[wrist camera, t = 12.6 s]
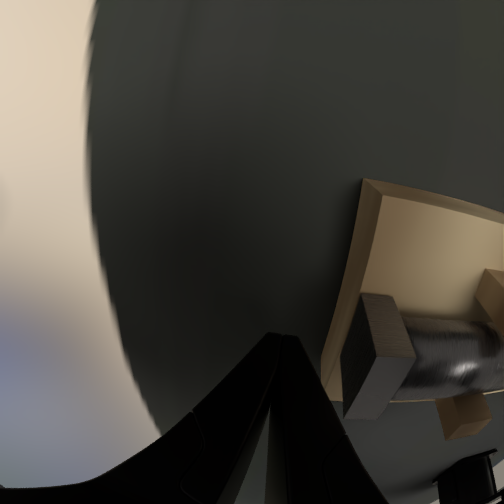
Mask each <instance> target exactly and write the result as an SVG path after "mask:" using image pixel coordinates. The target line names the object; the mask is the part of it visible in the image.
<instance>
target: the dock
mask: <svg viewBox="0 0 504 504" xmlns="http://www.w3.org/2000/svg"><path fill="white" fill-rule="evenodd" d="M361 293H365V294H373V295H382V296H391V297H393V298H394V301H395V303H396V306H397V308H398V310H399V313H400V315H401V317H414V318H428V319H443V320H461V321H484V322H494V323H495V325H496V326H497V328H498V329H499V331H500V332H501V334H502V335H503V337H504V213H502V212H499V211H495V210H492V209H489V208H486V207H483V206H480V205H476V204H473V203H469V202H466V201H462V200H459V199H455V198H452V197H448V196H444V195H440V194H436V193H432V192H428V191H424V190H420V189H415V188H411V187H407V186H402V185H397V184H392V183H388V182H383V181H377V180H372V179H367V178H363V182H362V188H361V194H360V200H359V206H358V211H357V217H356V222H355V227H354V232H353V237H352V242H351V246H350V251H349V256H348V260H347V264H346V269H345V273H344V277H343V281H342V285H341V289H340V293H339V297H338V300H337V304H336V308H335V311H334V315H333V318H332V322H331V325H330V329H329V332H328V336H327V339H326V342H325V345H324V349H323V352H322V355H321V383H322V385H323V387H324V389H325V391H326V393H327V395H328V397H329V399H330V401H343V397H342V380H341V366H340V354H341V351H342V349H343V346H344V343H345V340H346V338H347V335H348V332H349V329H350V326H351V323H352V320H353V317H354V314H355V311H356V308H357V304H358V301H359V298H360V295H361ZM500 391H504V390H499V391H494V392H488V393H482V394H475V395H468V396H459V397H450V398H439V399H425V400H403V401H390V402H416V401H432V400H435V403H436V406H437V410H438V413H439V417H440V420H441V424H442V428H443V432H444V436H445V441H446V440H452V439H457V438H462V437H466V436H470V435H475V434H477V433H478V432H479V431H480V430H481V429H482V428H483V427H484V426H485V425H486V424H487V423H488V422H489V421H490V420H491V419H492V415H491V413H490V410H489V407H488V405H487V402H486V400H485V397H484V395H483V394H489V393H495V392H500Z"/></svg>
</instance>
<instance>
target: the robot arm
mask: <svg viewBox="0 0 504 504" xmlns="http://www.w3.org/2000/svg"><path fill="white" fill-rule="evenodd" d="M271 399H272V400H271ZM270 404H271V406H270ZM269 408H270V416H269V436H268V455H267V473H266V489H265V503H264V504H389V503H388V502H387V500H386V499H385V497H384V496H383V495H382V493H381V492H380V490H379V489H378V487H377V486H376V485H375V483H374V482H373V480H372V479H371V477H370V475H369V474H368V472H367V471H366V469H365V468H364V466H363V464H362V463H361V461H360V459H359V457H358V455H357V453H356V452H355V450H354V448H353V446H352V444H351V442H350V440H349V438H348V436H347V435H345V433H346V432H345V430H344V428H343V426H342V424H341V422H340V420H339V418H338V416H337V413H336V411H335V409H334V407H333V405H332V403H331V401H330V399H329V397H328V395H327V393H326V391H325V389H324V387H323V385H322V383H321V381H320V379H319V377H318V375H317V373H316V371H315V369H314V367H313V365H312V363H311V361H310V359H309V357H308V355H307V353H306V351H305V349H304V347H303V345H302V343H301V341H300V339H299V337H298V336H292V335H283V337H282V335H281V334H278V333H271V332H268V333H266V334H265V335H264V336H263V337H262V339H261V340H260V341H259V342H258V343H257V344H256V345H255V346H254V347H253V348H252V349H251V350H250V352H249V353H248V354H247V355H246V356H245V357H244V358H243V359H242V360H241V361H240V362H239V363H238V364H237V365H236V366H235V367H234V368H233V369H232V370H231V371H230V372H229V373H228V375H227V376H226V377H225V378H224V379H223V380H222V381H221V382H220V383H219V384H218V385H217V386H216V387H215V388H214V389H213V390H212V391H211V392H210V393H209V394H208V395H207V396H206V397H205V398H204V399H203V400H202V401H201V402H199V403H198V404H197V405H196V406H195V407H194V408H193V409H192V412H189V413H188V414H187V415H186V416H185V417H184V418H183V419H182V420H180V421H179V422H178V423H177V424H176V425H175V426H174V427H172V428H171V429H170V430H169V431H168V432H167V433H165V434H164V435H163V436H162V437H160V438H159V439H157V440H156V441H155V442H153V443H152V444H150V445H149V446H148V447H146V448H145V449H143V450H142V451H140V452H138V453H137V454H135V455H134V456H132V457H131V458H129V459H127V460H126V461H124V462H122V463H121V464H119V465H118V466H116V467H114V468H112V469H111V470H109V471H107V472H106V473H104V474H102V475H100V476H98V477H96V478H94V479H91V480H88V481H85V482H81V483H76V484H70V485H61V486H52V487H38V488H5V487H3V486H2V485H0V504H234V502H235V500H236V497H237V495H238V493H239V490H240V488H241V485H242V483H243V480H244V478H245V475H246V473H247V470H248V468H249V465H250V462H251V460H252V457H253V454H254V452H255V449H256V446H257V444H258V441H259V438H260V435H261V432H262V430H263V427H264V424H265V421H266V418H267V415H268V412H269ZM497 452H498V451H497V449H496V450H493V451H490V452H487V453H484V454H481V455H478V456H474V457H471V458H467V459H464V460H461V461H460V462H458V463H457V464H456V465H454V466H453V467H452V468H450V469H449V470H448V471H446V472H445V473H444V474H442V475H441V476H440V477H438V478H437V479H435V480H434V481H432V485H434V484H438V492H439V502H440V504H490V503H492V502H494V501H496V500H498V499H499V498H501V499H502V501H500V502H498V503H496V504H504V489H502V490H500V492H498V493H497V489H496V484H495V478H494V474H493V469H492V465H491V461H490V458H492V457H493V456H494V455H495V454H496V453H497Z"/></svg>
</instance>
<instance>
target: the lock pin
mask: <svg viewBox="0 0 504 504" xmlns="http://www.w3.org/2000/svg"><path fill="white" fill-rule="evenodd" d="M340 366H341V380H342V397H343V419H378V418H379V416H380V415H381V413H382V412H383V411H384V409H385V408H386V406H387V405H388V403H389V402H390V401H403V400H425V399H439V398H450V397H459V396H468V395H475V394H482V393H488V392H494V391H499V390H504V337H503V335H502V334H501V332H500V331H499V329H498V328H497V326H496V325H495V323H494V322H484V321H461V320H443V319H428V318H414V317H401V315H400V313H399V310H398V308H397V306H396V303H395V301H394V298H393V297H391V296H382V295H373V294H365V293H361V295H360V298H359V301H358V304H357V308H356V311H355V314H354V317H353V320H352V323H351V326H350V329H349V332H348V335H347V338H346V340H345V343H344V346H343V349H342V351H341V354H340Z"/></svg>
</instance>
